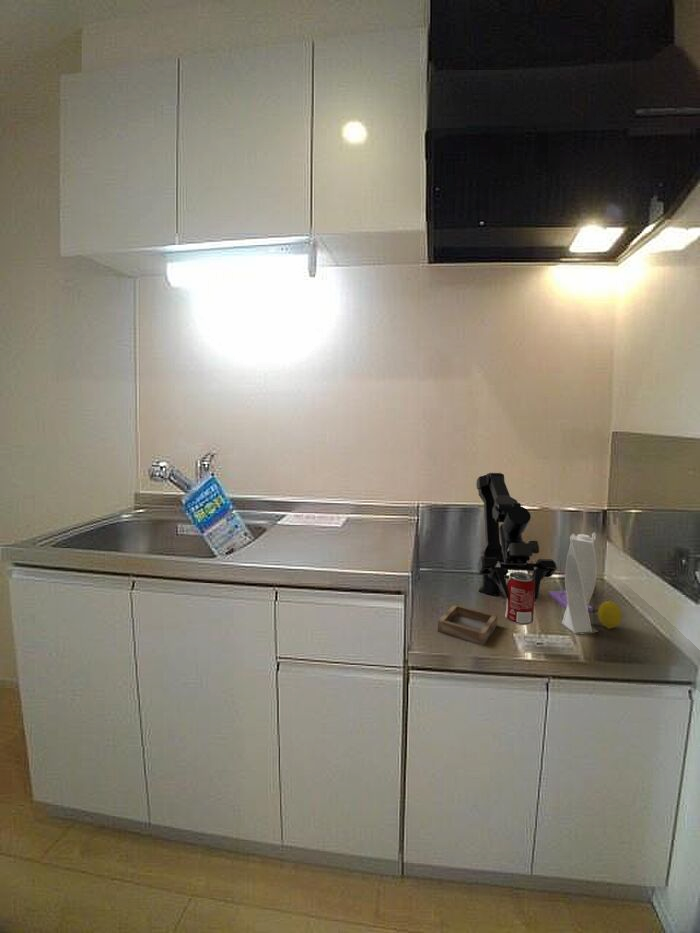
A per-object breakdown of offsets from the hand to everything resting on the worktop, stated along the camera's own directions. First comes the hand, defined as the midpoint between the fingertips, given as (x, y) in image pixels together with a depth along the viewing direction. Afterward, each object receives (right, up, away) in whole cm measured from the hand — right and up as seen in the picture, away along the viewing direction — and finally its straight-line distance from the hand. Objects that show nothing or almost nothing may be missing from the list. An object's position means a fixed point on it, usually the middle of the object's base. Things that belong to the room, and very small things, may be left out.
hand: (521, 598), depth 108 cm
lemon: (+28, -11, +10) cm, 32 cm away
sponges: (+25, -10, +26) cm, 37 cm away
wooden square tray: (-11, -11, +9) cm, 18 cm away
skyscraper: (+19, -11, +9) cm, 24 cm away
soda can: (0, -7, +2) cm, 7 cm away
